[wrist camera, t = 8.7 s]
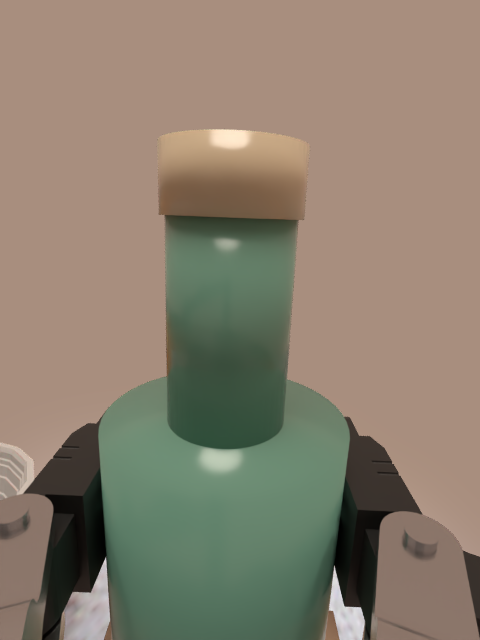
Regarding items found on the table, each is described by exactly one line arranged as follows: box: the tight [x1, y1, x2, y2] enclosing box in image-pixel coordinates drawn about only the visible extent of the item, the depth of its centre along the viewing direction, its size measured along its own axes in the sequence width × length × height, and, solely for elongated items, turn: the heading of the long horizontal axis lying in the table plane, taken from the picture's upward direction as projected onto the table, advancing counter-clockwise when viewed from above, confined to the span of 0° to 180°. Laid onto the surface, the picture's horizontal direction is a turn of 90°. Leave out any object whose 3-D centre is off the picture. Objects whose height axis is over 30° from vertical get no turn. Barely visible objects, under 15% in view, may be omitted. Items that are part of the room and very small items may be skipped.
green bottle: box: [98, 130, 350, 640], centre depth 9 cm, size 5×5×15 cm
